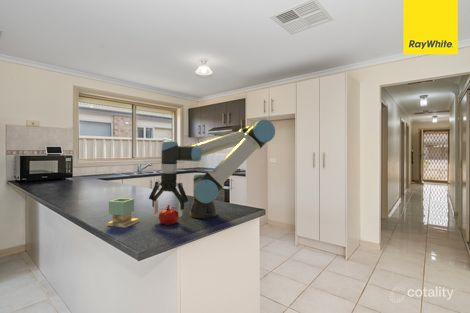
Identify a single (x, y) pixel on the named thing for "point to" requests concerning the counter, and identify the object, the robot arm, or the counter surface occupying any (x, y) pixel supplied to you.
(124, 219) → the plate
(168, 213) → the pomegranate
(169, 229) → the counter surface
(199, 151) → the robot arm
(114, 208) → the cup block
